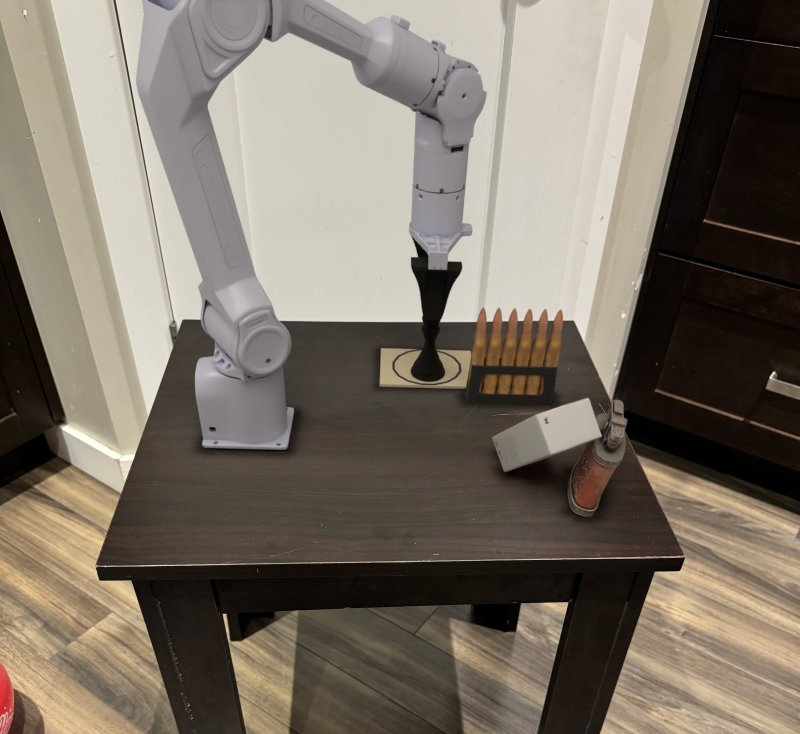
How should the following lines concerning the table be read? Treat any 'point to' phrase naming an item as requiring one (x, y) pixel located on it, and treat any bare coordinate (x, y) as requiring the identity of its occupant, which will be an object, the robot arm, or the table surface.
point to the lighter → (598, 461)
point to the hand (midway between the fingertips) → (431, 303)
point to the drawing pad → (401, 360)
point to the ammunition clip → (514, 361)
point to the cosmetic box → (547, 434)
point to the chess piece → (428, 355)
